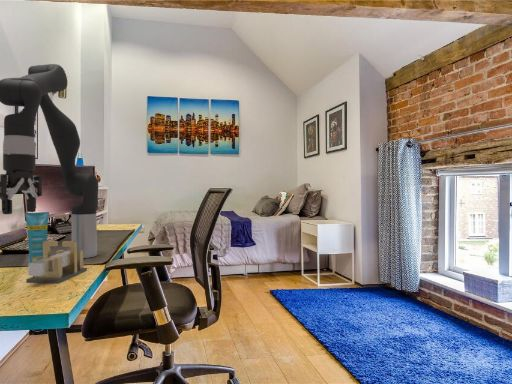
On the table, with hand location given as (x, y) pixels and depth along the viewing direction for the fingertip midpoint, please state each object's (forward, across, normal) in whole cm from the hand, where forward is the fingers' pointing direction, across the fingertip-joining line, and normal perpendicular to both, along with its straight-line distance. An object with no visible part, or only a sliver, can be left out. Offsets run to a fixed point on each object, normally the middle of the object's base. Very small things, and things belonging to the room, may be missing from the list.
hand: (19, 213), depth 103 cm
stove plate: (+21, -17, -1) cm, 27 cm away
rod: (+18, -16, -1) cm, 24 cm away
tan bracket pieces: (+20, -18, -1) cm, 27 cm away
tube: (+21, -30, -18) cm, 41 cm away
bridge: (+21, -18, -1) cm, 28 cm away
